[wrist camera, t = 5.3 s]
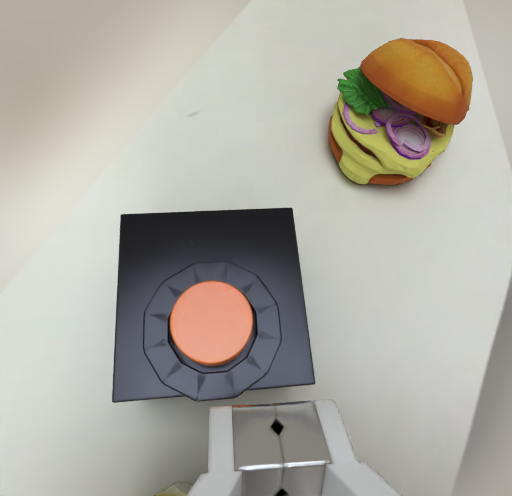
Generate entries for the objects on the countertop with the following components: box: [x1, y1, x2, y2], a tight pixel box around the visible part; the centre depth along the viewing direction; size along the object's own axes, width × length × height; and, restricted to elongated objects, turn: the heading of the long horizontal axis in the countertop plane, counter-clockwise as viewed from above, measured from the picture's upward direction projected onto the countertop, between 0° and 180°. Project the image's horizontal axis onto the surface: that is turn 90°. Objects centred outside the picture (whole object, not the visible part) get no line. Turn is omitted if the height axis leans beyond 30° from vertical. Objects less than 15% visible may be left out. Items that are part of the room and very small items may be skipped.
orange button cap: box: [170, 281, 253, 366], centre depth 17 cm, size 4×4×2 cm
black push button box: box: [112, 208, 315, 403], centre depth 22 cm, size 10×10×9 cm
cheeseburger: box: [329, 38, 473, 185], centre depth 30 cm, size 10×11×10 cm
